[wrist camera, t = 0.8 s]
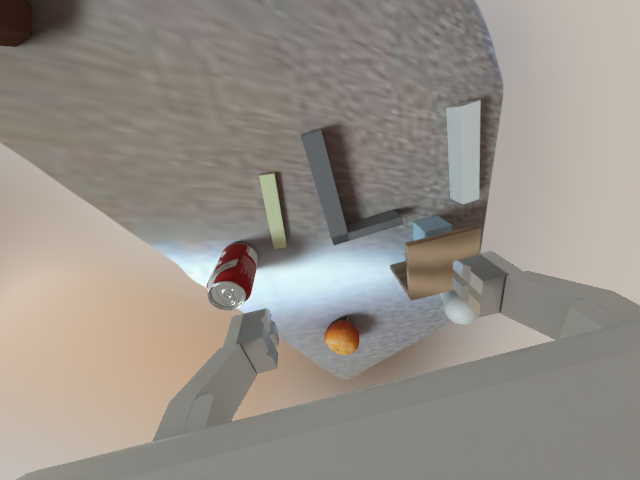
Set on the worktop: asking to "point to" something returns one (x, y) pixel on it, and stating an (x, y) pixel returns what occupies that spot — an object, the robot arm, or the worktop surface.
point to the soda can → (233, 277)
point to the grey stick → (464, 150)
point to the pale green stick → (273, 210)
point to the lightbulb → (457, 308)
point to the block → (430, 227)
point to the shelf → (435, 261)
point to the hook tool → (331, 200)
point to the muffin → (14, 21)
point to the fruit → (342, 337)
